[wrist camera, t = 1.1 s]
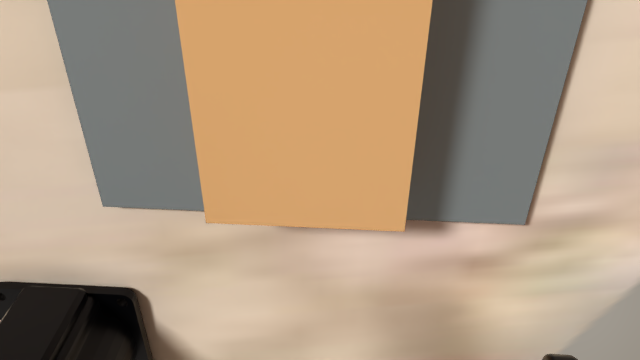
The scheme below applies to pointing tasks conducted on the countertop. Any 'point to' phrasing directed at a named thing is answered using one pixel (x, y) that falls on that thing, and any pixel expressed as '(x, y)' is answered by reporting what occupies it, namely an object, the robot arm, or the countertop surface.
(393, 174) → the orange flat block
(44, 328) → the robot arm
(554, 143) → the countertop surface
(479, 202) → the mat
